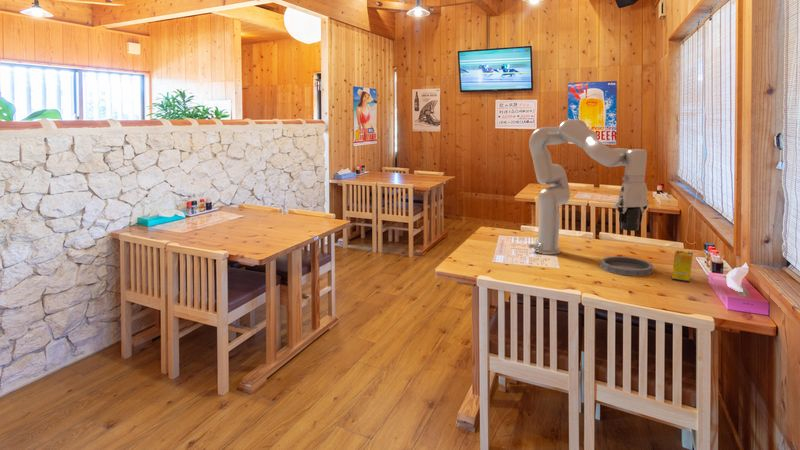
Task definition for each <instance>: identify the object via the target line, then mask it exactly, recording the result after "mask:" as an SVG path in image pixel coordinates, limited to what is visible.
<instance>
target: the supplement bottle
mask: <svg viewBox="0 0 800 450" xmlns="http://www.w3.org/2000/svg"><path fill="white" fill-rule="evenodd" d="M625 214H626V221H625V223H622V222H620V229H621V230H624V231H631V232H632V231H634V232H635V231H638V230H639V228H640V222H639V220H640V209H639V208H638V207H634V208H627V210H626V212H625Z"/></svg>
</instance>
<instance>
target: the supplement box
mask: <svg viewBox="0 0 800 450" xmlns="http://www.w3.org/2000/svg"><path fill="white" fill-rule="evenodd" d="M693 255H694V253H693V251H685V250H675V253H674V256H673V257H674V258H673V268H672V276H671V281H676V282H681V283H682V282H683V283H687V284H688V283H690V280H691V272H692V264H693Z"/></svg>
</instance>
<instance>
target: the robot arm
mask: <svg viewBox="0 0 800 450" xmlns="http://www.w3.org/2000/svg"><path fill="white" fill-rule="evenodd" d="M567 142H570V143H572V144H574V145H575V146H577V147H579V148H580V149H583V150H584V151H585V153H586V154H587V156H589V157H590V158H591V159H592V160H594V161H595V162H597V163H598V164H601V165H602V166H604V167H606V168H607V167H608V168H612V167H613V168H615V167H623V166H624V167H625V168H624V175H623V176H622V178H621V181H623V182H622V184H621V186H620V191H619V196H618V199H617V200H616V201H615V202H614V203H613V207H615V209H616V210H617V212H618V214H619V217H618V222H619V223H621V222H622V223H625V221H626V214H625V212H626V210H627V208H634V207H638V208H639V209H640V220H639V223H642V220H643V214H644V212H645V211H646V209H648V206H649V205H651V202H650V201H649V200H648V187H647V183H646V182H645V178H646V169H647V168H646V167H647V159H648V158H647V157H648V151H647V150H646V149H642V148H632V149H631V148H630V149H629V148H625V147H624V148H623V147H616V148H611V147H610V146H607V145H606V144H604V143H602V142H601V141H600V140H598V134H597V132H596V131H593V130H592V129H591V128H588V125H587V124H586V122H585V121H584V120H583V119H578V118H577V119H575V118H574V119H573V118H572V119H566V120H563V121H562V122H561V123H560V124H559V125H557V126H544V127H543V126H542V127H541V126H540V127H539V128H536V129H535V130H534V131H533V132H532V133H531V135H530V137H529V140H528V147H529V151H530V155H531V157H532V163H533V167H534V168H533V169H534V172H535V173H534V174H535V176H536V180H537V183H538V184H540V185H543V186H545V185H546V186H547V185H549V186H548V187H545V188H542V189H541V190H540V191H539V193H538V197H537V202H538V231H537V233H538V234H537V240H536V241H535V242H534V243H528V245H527V247H528V248H529V249H534V252H535V251H536V252H535V253H537V252H538V254H541V253H542V255H558V254H559V255H560V253H562V249H561V248H559V235H560V217H561V216H560V215H561V214H560V209H559V206H561V205H565V204H567V203H568V202H569V200H570V198H571V190H570V186H569V181H568V177H567V173H566V170H565V169H564V167H563V166H562V165H561V164H558V163H553V161H552V155H551V153H550V150H549V149H548V148H547V147H548V146H554V145H555V146H556V145H560V144H565V143H567Z"/></svg>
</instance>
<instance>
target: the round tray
mask: <svg viewBox="0 0 800 450" xmlns="http://www.w3.org/2000/svg"><path fill="white" fill-rule="evenodd" d="M599 262H600V264H599V266H600V268H601V269H602V270H603V271H605V272H607V273H611V274H615V275H619V276H626V277H644V276H649V275H651V274H653V271H654V265H653V264H652V263H651V262H649V261H647V260H645V259H641V258H635V257H631V256H606V257H603V258H602V259H600V261H599Z"/></svg>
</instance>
